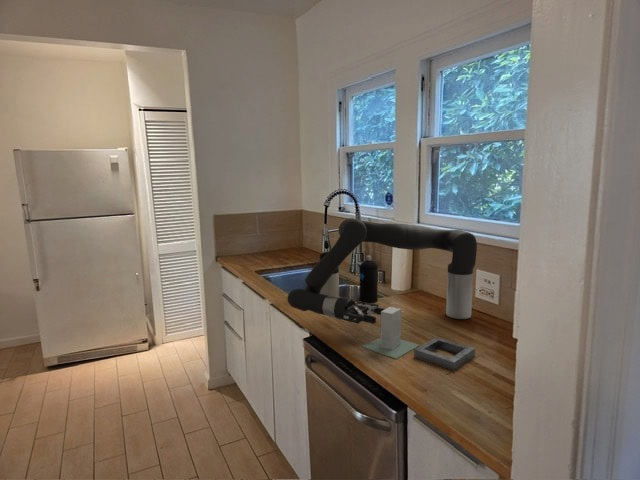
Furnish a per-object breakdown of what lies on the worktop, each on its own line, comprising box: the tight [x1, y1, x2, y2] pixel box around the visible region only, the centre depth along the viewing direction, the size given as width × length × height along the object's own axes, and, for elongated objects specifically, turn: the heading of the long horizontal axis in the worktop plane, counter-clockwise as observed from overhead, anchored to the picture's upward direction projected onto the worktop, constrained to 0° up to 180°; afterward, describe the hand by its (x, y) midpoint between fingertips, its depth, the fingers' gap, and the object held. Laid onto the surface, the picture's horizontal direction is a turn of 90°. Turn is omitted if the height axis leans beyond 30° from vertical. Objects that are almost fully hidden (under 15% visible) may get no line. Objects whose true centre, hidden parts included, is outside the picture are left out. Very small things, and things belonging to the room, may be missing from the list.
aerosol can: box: [358, 255, 379, 304], centre depth 180 cm, size 8×8×20 cm
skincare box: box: [380, 306, 402, 350], centre depth 132 cm, size 6×4×12 cm
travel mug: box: [320, 267, 340, 297], centre depth 180 cm, size 8×8×18 cm
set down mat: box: [362, 336, 421, 360], centre depth 133 cm, size 13×13×1 cm
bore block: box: [413, 336, 476, 372], centre depth 125 cm, size 13×13×2 cm
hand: (381, 316), depth 133 cm, fingers open, 8 cm apart
